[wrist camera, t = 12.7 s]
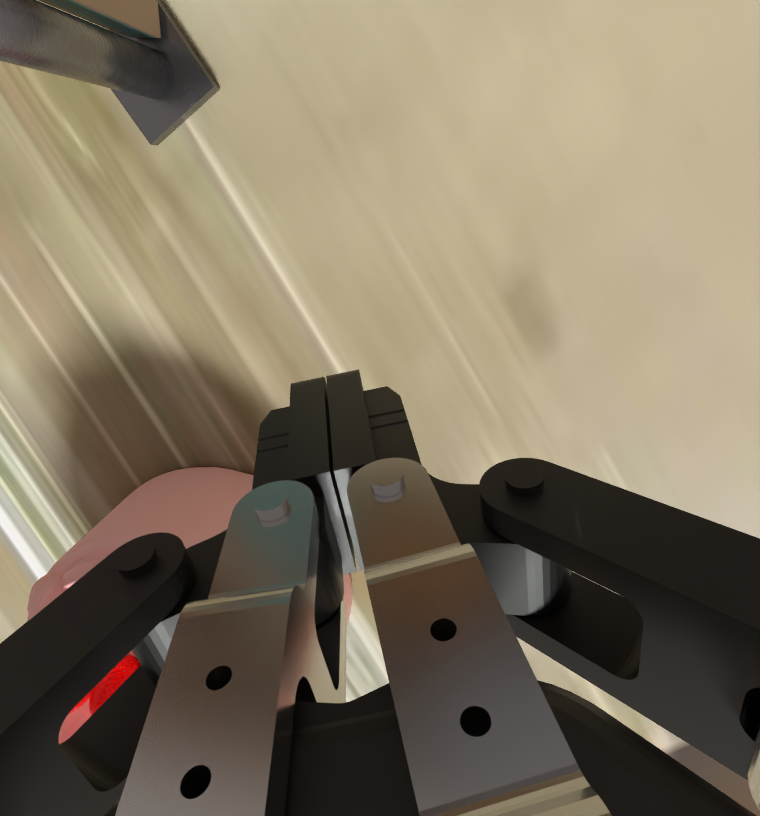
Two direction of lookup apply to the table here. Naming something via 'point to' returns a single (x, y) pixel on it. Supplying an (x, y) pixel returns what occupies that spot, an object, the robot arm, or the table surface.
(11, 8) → the gate posts
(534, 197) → the table surface
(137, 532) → the cake
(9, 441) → the table surface
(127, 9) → the gate leaf
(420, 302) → the table surface
